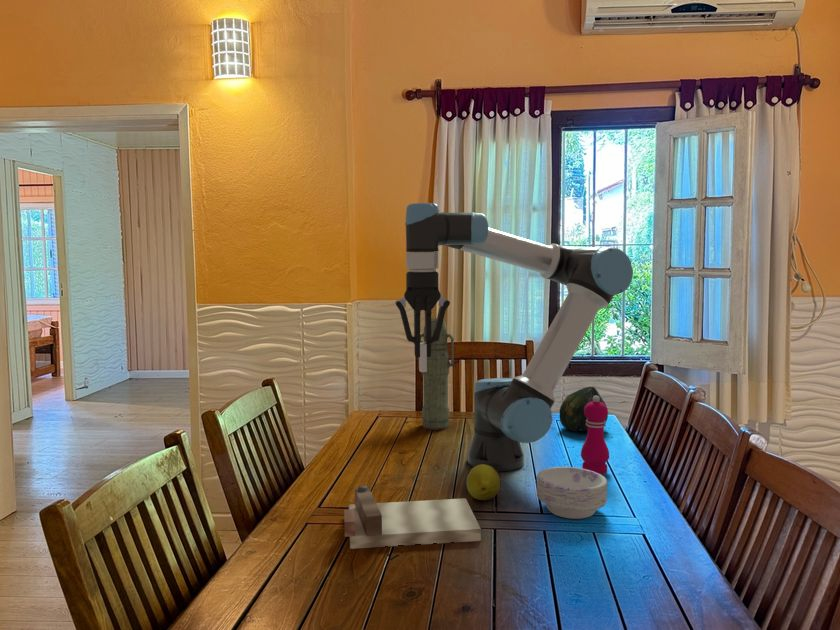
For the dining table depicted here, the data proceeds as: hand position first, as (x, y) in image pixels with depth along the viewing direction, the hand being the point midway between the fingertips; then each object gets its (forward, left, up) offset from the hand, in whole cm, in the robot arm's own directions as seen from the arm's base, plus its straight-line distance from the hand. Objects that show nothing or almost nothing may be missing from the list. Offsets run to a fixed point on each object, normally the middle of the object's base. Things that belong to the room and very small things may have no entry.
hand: (422, 370), depth 155 cm
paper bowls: (-31, +16, -30) cm, 46 cm away
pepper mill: (-46, -8, -30) cm, 55 cm away
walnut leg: (+14, +21, -27) cm, 37 cm away
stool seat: (+5, +20, -29) cm, 36 cm away
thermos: (-11, -56, -30) cm, 64 cm away
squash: (-57, -45, -30) cm, 78 cm away
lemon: (-13, +7, -30) cm, 33 cm away
